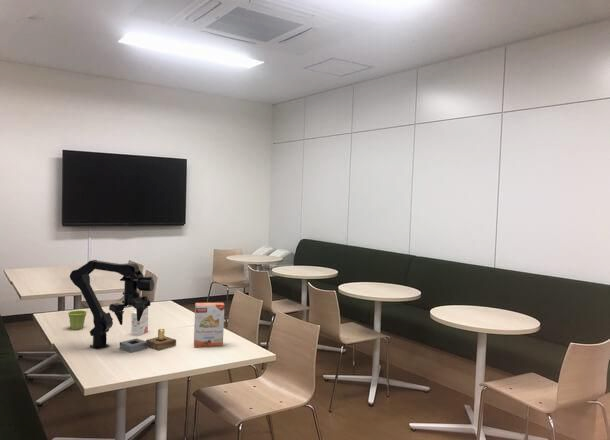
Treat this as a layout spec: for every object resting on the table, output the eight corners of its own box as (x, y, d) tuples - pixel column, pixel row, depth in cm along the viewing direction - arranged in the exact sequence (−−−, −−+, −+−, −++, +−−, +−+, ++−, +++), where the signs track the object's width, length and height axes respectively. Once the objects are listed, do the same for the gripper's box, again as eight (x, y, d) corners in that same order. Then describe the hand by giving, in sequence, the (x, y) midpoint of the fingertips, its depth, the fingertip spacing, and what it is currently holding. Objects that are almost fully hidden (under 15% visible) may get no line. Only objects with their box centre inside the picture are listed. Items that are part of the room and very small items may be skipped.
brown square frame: (145, 346, 227) (146, 339, 227) (163, 341, 235) (163, 335, 235) (158, 350, 221) (158, 344, 221) (175, 345, 229) (176, 339, 229)
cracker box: (194, 348, 227) (195, 305, 226) (193, 344, 233) (194, 302, 232) (223, 346, 231) (224, 304, 230) (222, 343, 237) (223, 301, 236)
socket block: (119, 348, 222) (119, 342, 222) (136, 344, 229) (136, 338, 229) (130, 352, 217) (131, 346, 217) (147, 348, 224) (147, 342, 224)
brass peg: (156, 346, 228) (156, 329, 228) (161, 344, 230) (161, 328, 230) (160, 347, 226) (160, 330, 226) (165, 345, 229) (165, 329, 228)
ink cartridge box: (139, 330, 253) (140, 303, 253) (148, 331, 252) (148, 304, 252) (130, 334, 245) (131, 306, 244) (139, 335, 244) (140, 307, 243)
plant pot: (90, 326, 257) (90, 311, 257) (80, 331, 248) (80, 315, 247) (74, 325, 258) (74, 310, 258) (63, 330, 249) (63, 314, 248)
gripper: (122, 295, 210) (122, 330, 211) (158, 290, 225) (157, 322, 226) (108, 292, 217) (108, 325, 217) (143, 287, 232) (143, 318, 232)
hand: (129, 323), depth 223 cm, fingers open, 9 cm apart
